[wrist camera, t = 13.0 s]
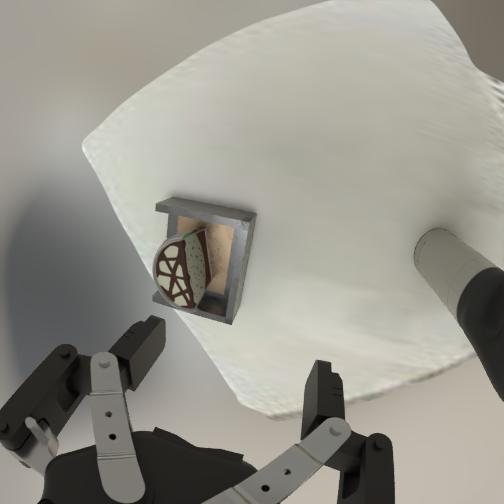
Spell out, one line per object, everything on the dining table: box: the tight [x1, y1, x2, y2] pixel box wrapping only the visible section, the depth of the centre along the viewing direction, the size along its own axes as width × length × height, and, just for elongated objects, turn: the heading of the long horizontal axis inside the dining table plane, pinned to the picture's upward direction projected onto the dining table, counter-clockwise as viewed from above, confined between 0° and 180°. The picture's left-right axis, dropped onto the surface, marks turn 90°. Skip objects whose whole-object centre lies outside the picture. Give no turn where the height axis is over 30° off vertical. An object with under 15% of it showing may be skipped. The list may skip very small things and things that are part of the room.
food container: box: [152, 228, 213, 313], centre depth 44 cm, size 12×6×10 cm, turn 4°
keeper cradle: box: [153, 197, 256, 325], centre depth 46 cm, size 15×18×6 cm
